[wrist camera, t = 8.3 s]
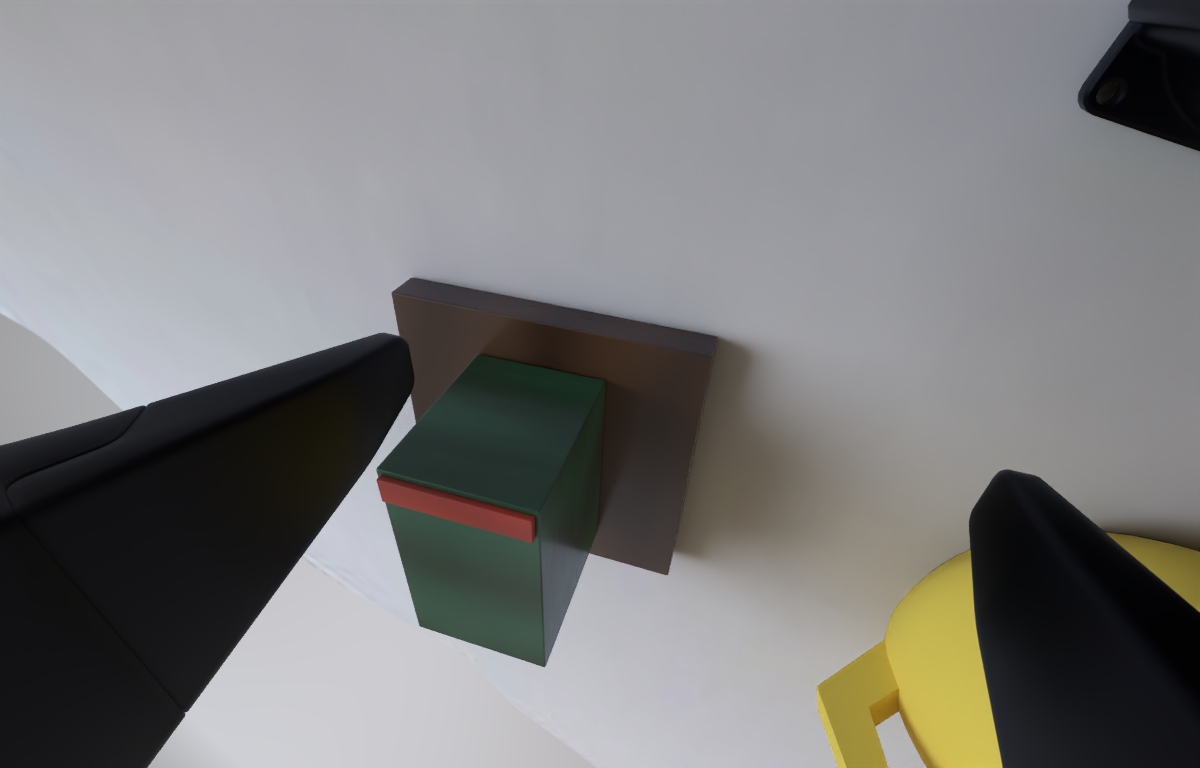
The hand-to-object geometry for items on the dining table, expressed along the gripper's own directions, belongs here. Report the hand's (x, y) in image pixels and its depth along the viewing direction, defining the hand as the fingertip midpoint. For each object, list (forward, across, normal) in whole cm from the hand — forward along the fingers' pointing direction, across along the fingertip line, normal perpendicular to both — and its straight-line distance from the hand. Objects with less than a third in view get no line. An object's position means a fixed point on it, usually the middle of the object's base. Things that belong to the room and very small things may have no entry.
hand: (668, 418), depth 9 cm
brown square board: (+12, +6, +12) cm, 18 cm away
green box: (+10, +6, +12) cm, 17 cm away
